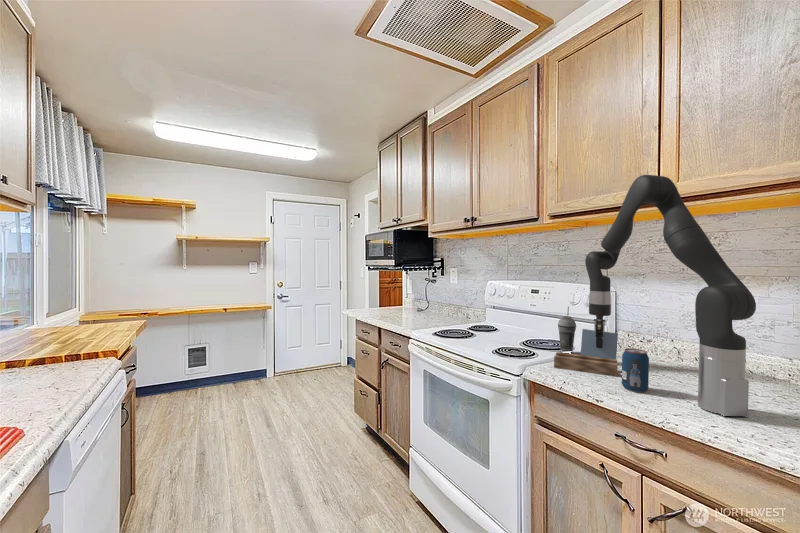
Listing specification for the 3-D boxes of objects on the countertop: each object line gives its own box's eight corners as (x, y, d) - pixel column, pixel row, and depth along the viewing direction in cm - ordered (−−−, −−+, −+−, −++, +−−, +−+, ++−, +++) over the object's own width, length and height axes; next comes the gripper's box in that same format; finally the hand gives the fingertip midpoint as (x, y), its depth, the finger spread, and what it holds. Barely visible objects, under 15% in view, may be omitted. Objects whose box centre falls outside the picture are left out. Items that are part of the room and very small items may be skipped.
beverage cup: (572, 350, 157) (572, 305, 156) (578, 355, 149) (579, 307, 149) (554, 350, 157) (555, 304, 157) (560, 354, 150) (561, 307, 150)
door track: (616, 370, 129) (616, 359, 129) (617, 376, 122) (617, 365, 122) (556, 362, 139) (556, 351, 139) (553, 367, 132) (554, 356, 132)
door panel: (615, 359, 137) (617, 333, 137) (615, 360, 135) (617, 334, 135) (580, 353, 143) (582, 328, 143) (580, 354, 141) (582, 329, 141)
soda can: (638, 385, 114) (639, 347, 114) (653, 393, 107) (654, 353, 107) (616, 385, 114) (617, 347, 114) (630, 393, 107) (631, 353, 107)
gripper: (611, 305, 131) (610, 352, 131) (610, 301, 143) (610, 344, 143) (588, 303, 135) (587, 349, 135) (589, 300, 147) (589, 342, 147)
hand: (599, 346), depth 139 cm, fingers closed on door panel, 2 cm apart
